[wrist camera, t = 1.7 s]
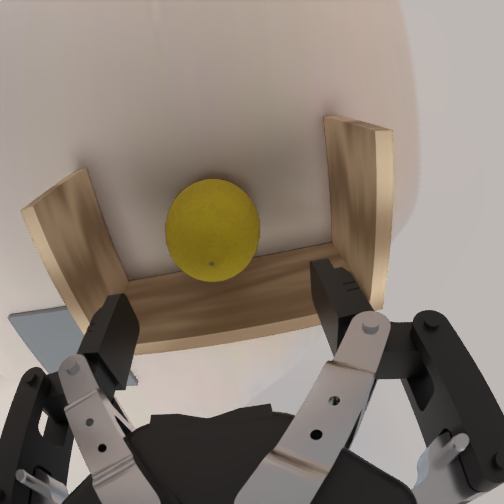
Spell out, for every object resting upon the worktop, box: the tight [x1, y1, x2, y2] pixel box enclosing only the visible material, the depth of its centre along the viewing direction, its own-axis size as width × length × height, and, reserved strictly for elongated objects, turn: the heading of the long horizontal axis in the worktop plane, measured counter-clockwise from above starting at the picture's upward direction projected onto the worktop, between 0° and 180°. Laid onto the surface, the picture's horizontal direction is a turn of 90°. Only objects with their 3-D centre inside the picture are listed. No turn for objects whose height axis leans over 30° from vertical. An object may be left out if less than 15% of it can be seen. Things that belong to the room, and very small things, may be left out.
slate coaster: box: [8, 306, 138, 386], centre depth 27 cm, size 12×12×1 cm
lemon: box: [165, 179, 260, 282], centre depth 18 cm, size 6×6×8 cm
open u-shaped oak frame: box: [21, 115, 394, 355], centre depth 18 cm, size 11×19×8 cm, turn 99°
